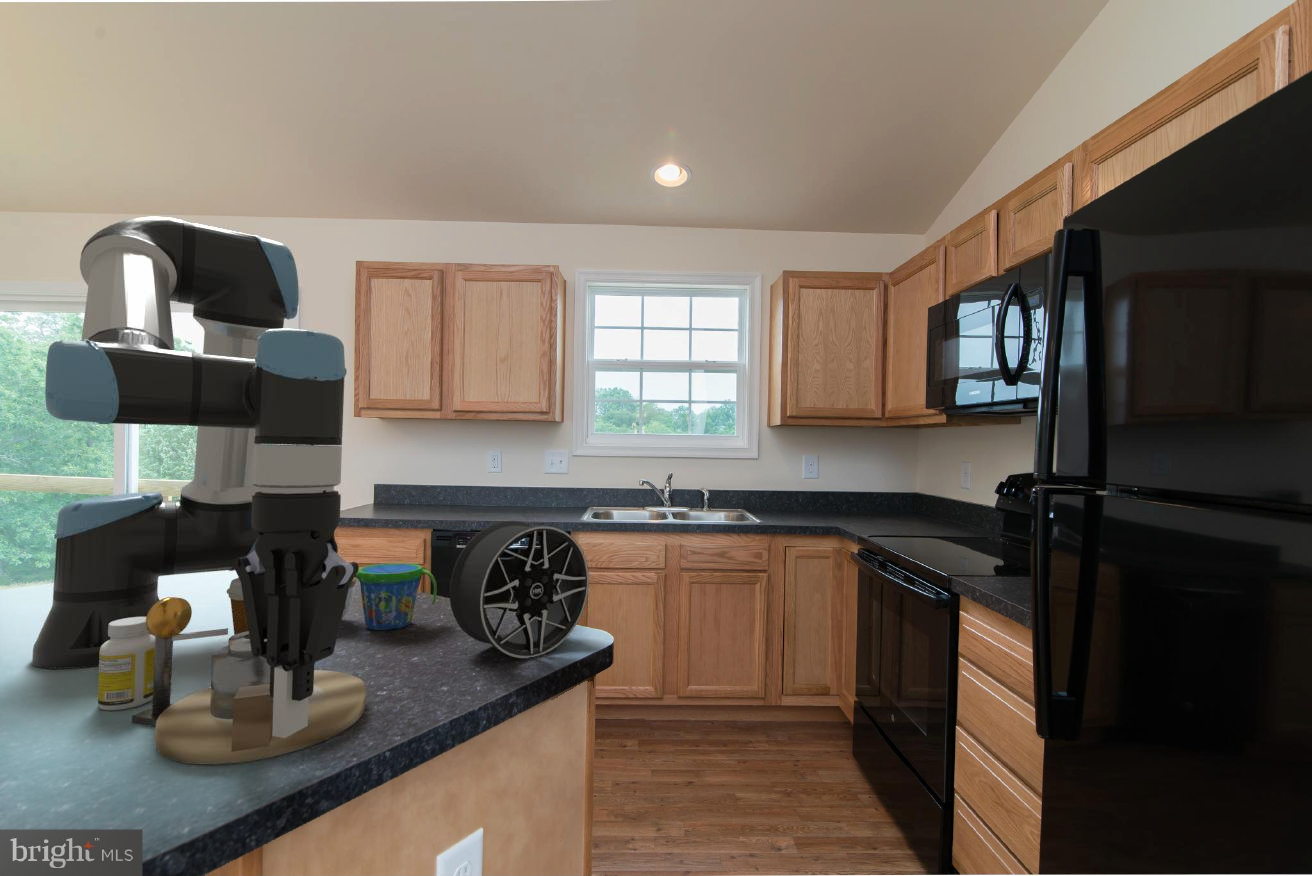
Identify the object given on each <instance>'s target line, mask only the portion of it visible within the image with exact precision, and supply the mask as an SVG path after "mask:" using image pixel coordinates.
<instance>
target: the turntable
mask: <svg viewBox="0 0 1312 876" xmlns="http://www.w3.org/2000/svg"><path fill="white" fill-rule="evenodd" d="M313 681H314V684H313V685H314V688H313V693H312V695H311V696H309V698H308V726H306V727H305V728H303V729H301V730H299V731H297V732H295V733H294V734H292V735H290V736H288V737H286V738H281V737H275V736H272V730H273V699H274V697H271V694H270V684H266V685H257V686H249V687H240V688H239V690H238V692H237V694H236V695H235V697H234V701H233V719H221V718H217V717H214V716H212V715H211V714H210V700H211V686H210V687H207V688H204V689H202V690H199V691H197V692H196V691H195V692H194V693H191V694H190V695H188V696H187V695H186V696H185V697H183V698H181V699H179V700H177V701H176V702H174V703H171V704H172V705H171V706H170V707H168V708H167V709H166V710H164V711H163V712H162V713H161V714H160V716H159V717H158V719H157V721H156V727H155V736H154V746H155V750H156V751H157V752H158V753H159V754H160V755H161V756H163V757H164V758H167V759H169V760H171V761H176V762H180V763H187V764H194V765H197V764H198V765H221V764H222V765H224V764H225V765H226V764H234V763H235V764H236V763H243V762H244V763H245V762H250V761H251V762H252V761H258V760H262V759H263V760H264V759H267V758H269V759H270V758H273V757H276V756H281V755H284V754H285V755H286V754H289V753H293V752H295V751H299V750H301V749H302V750H303V749H305V748H308V747H310V746H311V747H312V746H313V745H315V744H318V743H321V742H323V741H326V740H328V739H331V738H332V737H335V736H336V735H338V734H340V733H341V732H344V731H345V730H347V729H349V728H350V727H351V726H353V725H354V724H355V723H356V722H358V720H359V719H360V718H361V717H362V716H363V714H364V712H365V710H366V704H367V703H366V702H367V686H366V684H365V682H364V681H363V680H362V679H360V678H359V677H358V676H355V675H352V674H349V673H345V672H340V671H335V670H321V669H320V670H318V669H314V680H313Z"/></svg>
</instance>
